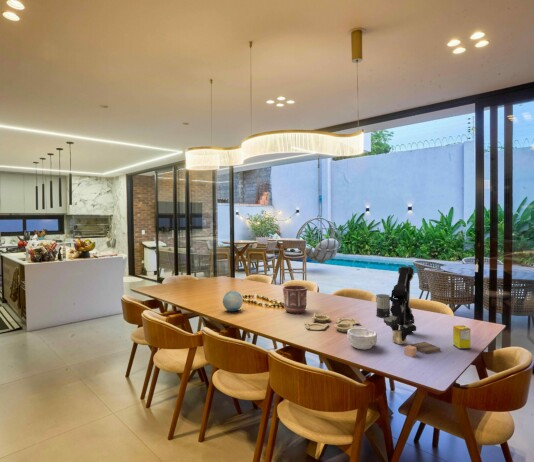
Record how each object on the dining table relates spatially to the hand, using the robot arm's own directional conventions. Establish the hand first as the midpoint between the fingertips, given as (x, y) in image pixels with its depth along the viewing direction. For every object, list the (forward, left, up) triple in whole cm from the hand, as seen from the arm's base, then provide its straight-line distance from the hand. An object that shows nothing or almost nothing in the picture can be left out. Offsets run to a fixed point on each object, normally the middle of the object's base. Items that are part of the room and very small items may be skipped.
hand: (399, 339), depth 186 cm
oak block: (0, 0, -2) cm, 2 cm away
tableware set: (-42, -16, -3) cm, 45 cm away
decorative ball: (-101, -65, -2) cm, 120 cm away
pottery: (-81, -23, -2) cm, 84 cm away
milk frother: (-48, +30, -2) cm, 57 cm away
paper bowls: (-4, -22, -2) cm, 22 cm away
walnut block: (+12, +6, -2) cm, 14 cm away
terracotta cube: (+15, -7, -2) cm, 17 cm away
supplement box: (+18, +25, -2) cm, 31 cm away
